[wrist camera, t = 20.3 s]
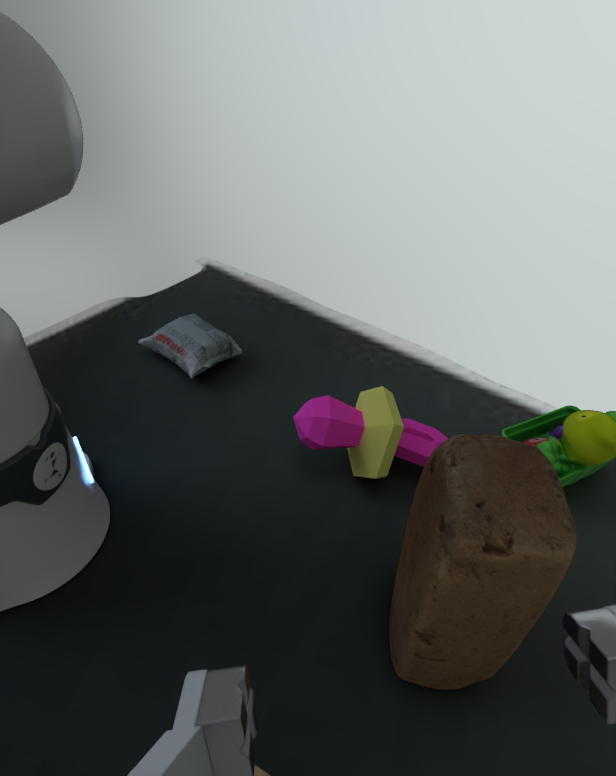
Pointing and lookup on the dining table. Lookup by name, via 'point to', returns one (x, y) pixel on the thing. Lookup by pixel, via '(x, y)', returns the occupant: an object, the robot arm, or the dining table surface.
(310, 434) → the toy
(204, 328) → the packaged food
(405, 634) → the block
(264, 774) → the maple block
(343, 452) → the dining table surface
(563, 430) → the fruit basket
